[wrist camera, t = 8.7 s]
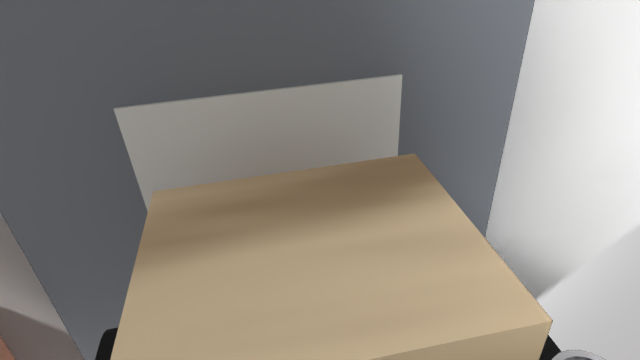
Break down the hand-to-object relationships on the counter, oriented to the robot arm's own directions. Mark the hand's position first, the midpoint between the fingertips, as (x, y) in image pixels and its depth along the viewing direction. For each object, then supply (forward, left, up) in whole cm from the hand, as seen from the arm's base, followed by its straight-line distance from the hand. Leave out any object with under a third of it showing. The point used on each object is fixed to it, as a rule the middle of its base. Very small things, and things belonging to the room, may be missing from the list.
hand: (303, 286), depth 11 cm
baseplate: (0, 0, -5) cm, 5 cm away
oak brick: (0, 0, -1) cm, 1 cm away
